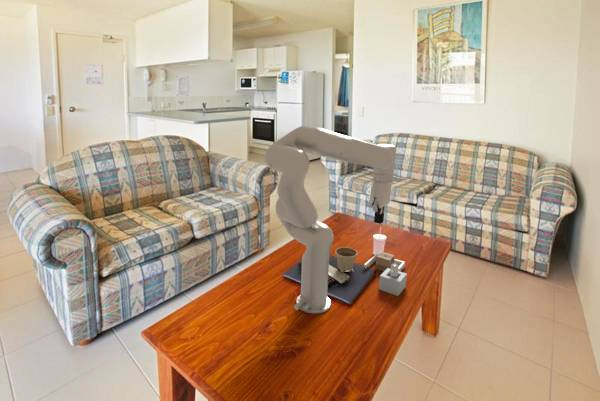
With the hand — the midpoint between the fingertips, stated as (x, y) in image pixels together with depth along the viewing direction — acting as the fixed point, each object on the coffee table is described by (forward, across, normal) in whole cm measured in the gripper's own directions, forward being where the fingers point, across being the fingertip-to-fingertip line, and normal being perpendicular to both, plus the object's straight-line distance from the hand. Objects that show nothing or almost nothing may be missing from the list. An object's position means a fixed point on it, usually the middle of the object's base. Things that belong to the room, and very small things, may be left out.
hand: (378, 222), depth 143 cm
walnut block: (+25, -12, 0) cm, 28 cm away
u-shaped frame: (+25, -12, 0) cm, 28 cm away
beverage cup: (+25, -24, -8) cm, 36 cm away
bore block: (+25, +2, +9) cm, 27 cm away
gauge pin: (+25, +2, +9) cm, 27 cm away
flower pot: (+25, 0, -13) cm, 28 cm away
